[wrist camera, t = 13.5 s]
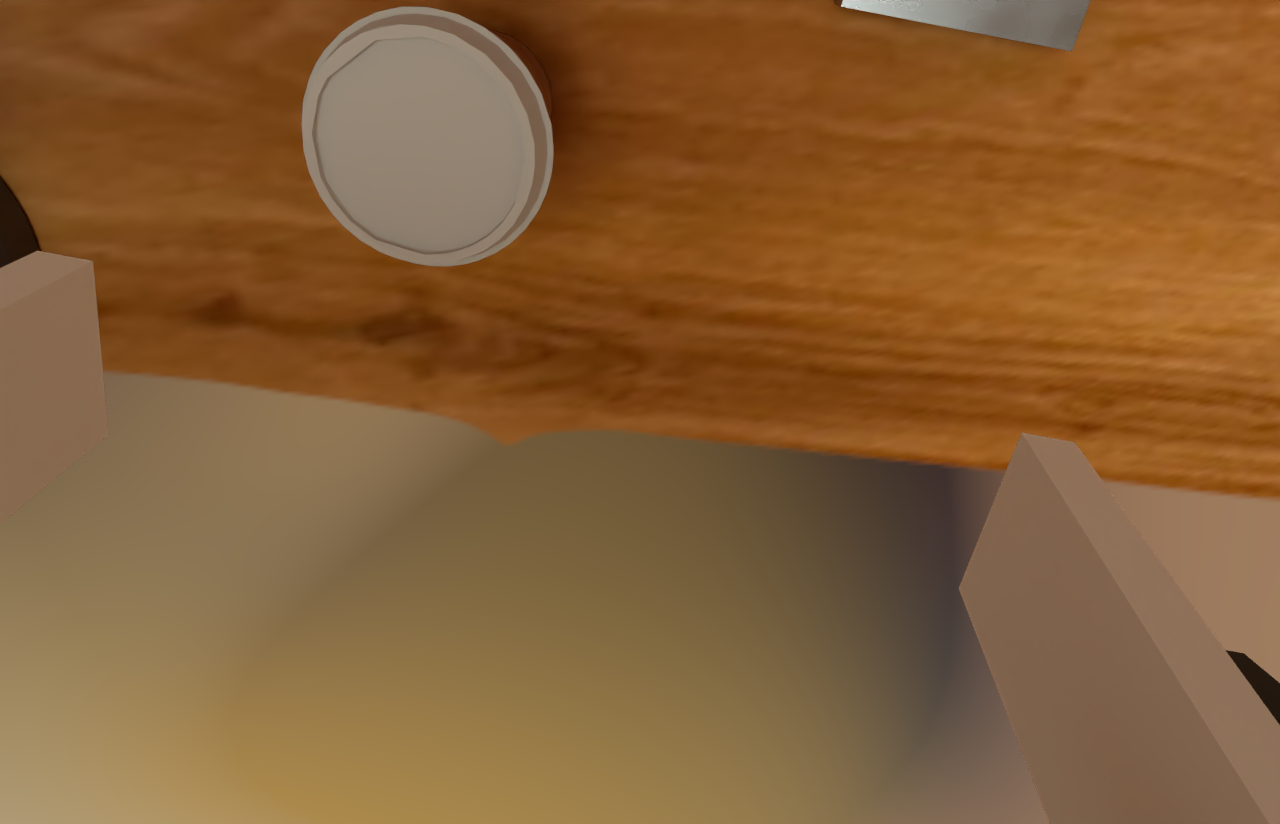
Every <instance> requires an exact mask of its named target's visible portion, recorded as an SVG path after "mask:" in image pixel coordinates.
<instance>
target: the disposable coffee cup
mask: <svg viewBox="0 0 1280 824" xmlns="http://www.w3.org/2000/svg"><path fill="white" fill-rule="evenodd" d="M551 113H552V95H551V89H550V84H549V82H548V79H547V77H546V74H545V72H544V69H543V68H542V66H541V65H540V63H539V62H538V60H537V58H536V57H535V56H534V55H533V53H532V52H531V51H530V50H529V49H528V48H527V47H525V46H524V45H523V44H521V43H520V42H519V41H518V40H516V39H514V38H512V37H511V36H509V35H507V34H504V33H500V32H497V31H492V30H488V29H486V28H484V27H483V26H481V25H480V24H478V23H476V22H474V21H471V20H469V19H467V18H465V17H463V16H461V15H459V14H456V13H451V12H447V11H443V10H438V9H434V8H430V7H398V8H392V9H387V10H383V11H379V12H376V13H374V14H372V15H369V16H367V17H365V18H363V19H361V20H358V21H356V22H355V23H354V24H352V25H351V26H349V27H348V28H347V29H345V30H344V31H342V32H341V33H340V34H339V35H338V36H337V37H336V38H335V39H334V40H333V41H332V42H331V44H330V45H329V46H328V47H327V48H326V49H325V50H324V52H323V53H322V55H321V56H320V58H319V59H318V61H317V62H316V64H315V67H314V69H313V71H312V73H311V76H310V78H309V81H308V84H307V88H306V92H305V95H304V99H303V109H302V134H303V150H304V154H305V158H306V162H307V166H308V170H309V173H310V176H311V178H312V180H313V182H314V184H315V187H316V189H317V191H318V193H319V195H320V197H321V199H322V200H323V201H324V203H325V204H326V206H327V207H328V209H329V210H330V211H331V213H332V214H333V215H334V217H335V218H336V219H337V220H338V221H339V222H340V223H341V224H342V226H344V227H345V228H346V229H347V230H348V231H350V232H351V233H352V234H353V235H354V236H356V237H357V238H358V239H359V240H360V241H362V242H364V243H365V244H367V245H369V246H370V247H372V248H374V249H376V250H377V251H379V252H381V253H384V254H386V255H389V256H391V257H394V258H397V259H401V260H405V261H408V262H411V263H415V264H421V265H428V266H455V265H462V264H468V263H471V262H475V261H478V260H481V259H483V258H486V257H488V256H490V255H493V254H495V253H496V252H498V251H499V250H501V249H502V248H504V247H506V246H507V245H509V244H510V243H511V242H513V241H514V240H515V239H516V238H517V237H518V236H519V235H520V234H521V233H522V232H523V231H524V230H525V229H526V228H527V226H528V225H529V223H530V222H531V221H532V219H533V218H534V216H535V215H536V213H537V212H538V211H539V209H540V206H541V204H542V202H543V200H544V197H545V195H546V193H547V190H548V186H549V183H550V179H551V174H552V167H553V158H554V148H553V133H552V124H551V121H550V118H551Z"/></svg>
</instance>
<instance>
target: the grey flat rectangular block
mask: <svg viewBox="0 0 1280 824" xmlns="http://www.w3.org/2000/svg"><path fill="white" fill-rule="evenodd" d="M1089 2H1090V0H835V2H834V3H835V4H837V5H839V6H841V7H846V8H851V9H856V10H862V11H867V12H872V13H877V14H882V15H887V16H892V17H898V18H903V19H908V20H913V21H918V22H923V23H928V24H934V25H939V26H944V27H949V28H954V29H959V30H964V31H970V32H975V33H980V34H985V35H990V36H995V37H1001V38H1006V39H1011V40H1016V41H1021V42H1026V43H1031V44H1037V45H1042V46H1047V47H1052V48H1057V49H1062V50H1067V51H1072V50H1073V47H1074V44H1075V42H1076V39H1077V36H1078V33H1079V30H1080V28H1081V25H1082V22H1083V19H1084V16H1085V14H1086V11H1087V8H1088V5H1089Z"/></svg>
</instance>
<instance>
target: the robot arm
mask: <svg viewBox="0 0 1280 824" xmlns="http://www.w3.org/2000/svg"><path fill="white" fill-rule="evenodd" d="M108 434H109V433H108V422H107V412H106V400H105V390H104V378H103V367H102V356H101V345H100V334H99V323H98V312H97V301H96V290H95V278H94V267H93V261H91V260H85V259H80V258H75V257H69V256H64V255H58V254H53V253H48V252H42V251H38V247H37V244H36V241H35V238H34V236H33V233H32V230H31V228H30V226H29V224H28V221H27V219H26V217H25V216H24V214H23V212H22V210H21V208H20V207H19V205H18V203H17V202H16V200H15V198H14V197H13V195H12V194H11V192H10V191H9V190H8V188H7V187H6V186H5V184H4V183H3V182H2V180H1V179H0V524H1V523H3V522H4V521H5V520H6V519H7V518H8V517H10V516H11V515H12V514H13V513H15V512H16V511H17V510H18V509H19V508H20V507H22V506H23V505H24V504H25V503H27V502H28V501H29V500H30V499H31V498H33V497H34V496H35V495H36V494H37V493H39V492H40V491H41V490H42V489H43V488H45V487H46V486H47V485H48V484H49V483H51V482H52V481H53V480H54V479H55V478H57V477H58V476H59V475H60V474H61V473H63V472H64V471H65V470H66V469H67V468H69V467H70V466H71V465H72V464H73V463H75V462H76V461H77V460H78V459H79V458H81V457H82V456H83V455H84V454H86V453H87V452H88V451H89V450H90V449H91V448H93V447H94V446H95V445H96V444H97V443H99V442H100V441H101V440H102V439H104V438H105V437H106V436H107V435H108ZM959 590H960V593H961V595H962V598H963V600H964V603H965V606H966V608H967V611H968V613H969V616H970V619H971V621H972V624H973V626H974V629H975V632H976V634H977V637H978V639H979V642H980V644H981V647H982V650H983V652H984V655H985V658H986V660H987V663H988V665H989V668H990V670H991V673H992V676H993V678H994V681H995V684H996V686H997V688H998V691H999V694H1000V696H1001V699H1002V701H1003V704H1004V707H1005V709H1006V712H1007V715H1008V717H1009V720H1010V722H1011V725H1012V728H1013V730H1014V733H1015V735H1016V738H1017V741H1018V743H1019V746H1020V748H1021V751H1022V754H1023V756H1024V759H1025V761H1026V764H1027V767H1028V769H1029V772H1030V774H1031V777H1032V780H1033V782H1034V785H1035V787H1036V790H1037V793H1038V795H1039V798H1040V800H1041V803H1042V805H1043V808H1044V811H1045V813H1046V816H1047V819H1048V821H1049V824H1280V683H1279V682H1278V681H1276V680H1275V679H1274V678H1273V677H1272V676H1270V675H1269V674H1268V673H1267V672H1266V671H1264V670H1263V669H1262V668H1261V667H1259V666H1258V665H1257V664H1256V663H1255V662H1253V661H1252V660H1251V659H1250V658H1248V657H1247V656H1246V655H1245V654H1243V653H1238V652H1233V651H1227V650H1225V649H1224V648H1223V646H1222V645H1221V644H1220V642H1219V641H1218V639H1217V638H1216V637H1215V635H1214V634H1213V633H1212V631H1211V630H1210V628H1209V627H1208V626H1207V624H1206V623H1205V622H1204V620H1203V619H1202V618H1201V616H1200V615H1199V613H1198V612H1197V610H1196V609H1195V608H1194V606H1193V605H1192V604H1191V602H1190V601H1189V600H1188V598H1187V597H1186V595H1185V594H1184V592H1183V591H1182V590H1181V588H1180V587H1179V586H1178V584H1177V583H1176V582H1175V580H1174V579H1173V577H1172V576H1171V575H1170V574H1169V572H1168V570H1167V569H1166V568H1165V566H1164V565H1163V564H1162V563H1161V561H1160V559H1159V558H1158V557H1157V555H1156V554H1155V553H1154V551H1153V550H1152V548H1151V547H1150V546H1149V544H1148V543H1147V541H1146V540H1145V539H1144V537H1143V536H1142V535H1141V533H1140V532H1139V530H1138V529H1137V528H1136V526H1135V525H1134V524H1133V522H1132V521H1131V520H1130V518H1129V517H1128V515H1127V514H1126V513H1125V511H1124V510H1123V509H1122V507H1121V506H1120V504H1119V503H1118V502H1117V500H1116V499H1115V497H1114V496H1113V495H1112V493H1111V492H1110V490H1109V489H1108V488H1107V486H1106V485H1105V484H1104V482H1103V481H1102V479H1101V478H1100V477H1099V475H1098V474H1097V473H1096V471H1095V470H1094V468H1093V467H1092V466H1091V464H1090V463H1089V461H1088V460H1087V459H1086V457H1085V456H1084V455H1083V453H1082V452H1081V450H1080V449H1079V448H1078V446H1077V445H1076V444H1075V442H1070V441H1064V440H1059V439H1054V438H1048V437H1043V436H1037V435H1032V434H1027V433H1021V435H1020V438H1019V440H1018V443H1017V445H1016V448H1015V450H1014V453H1013V455H1012V458H1011V460H1010V463H1009V465H1008V468H1007V470H1006V473H1005V475H1004V478H1003V480H1002V483H1001V485H1000V488H999V490H998V493H997V495H996V498H995V500H994V502H993V505H992V507H991V510H990V513H989V515H988V517H987V520H986V522H985V525H984V527H983V530H982V532H981V535H980V537H979V540H978V542H977V545H976V547H975V550H974V552H973V555H972V557H971V560H970V562H969V565H968V567H967V570H966V572H965V575H964V577H963V579H962V582H961V584H960V587H959Z"/></svg>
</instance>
